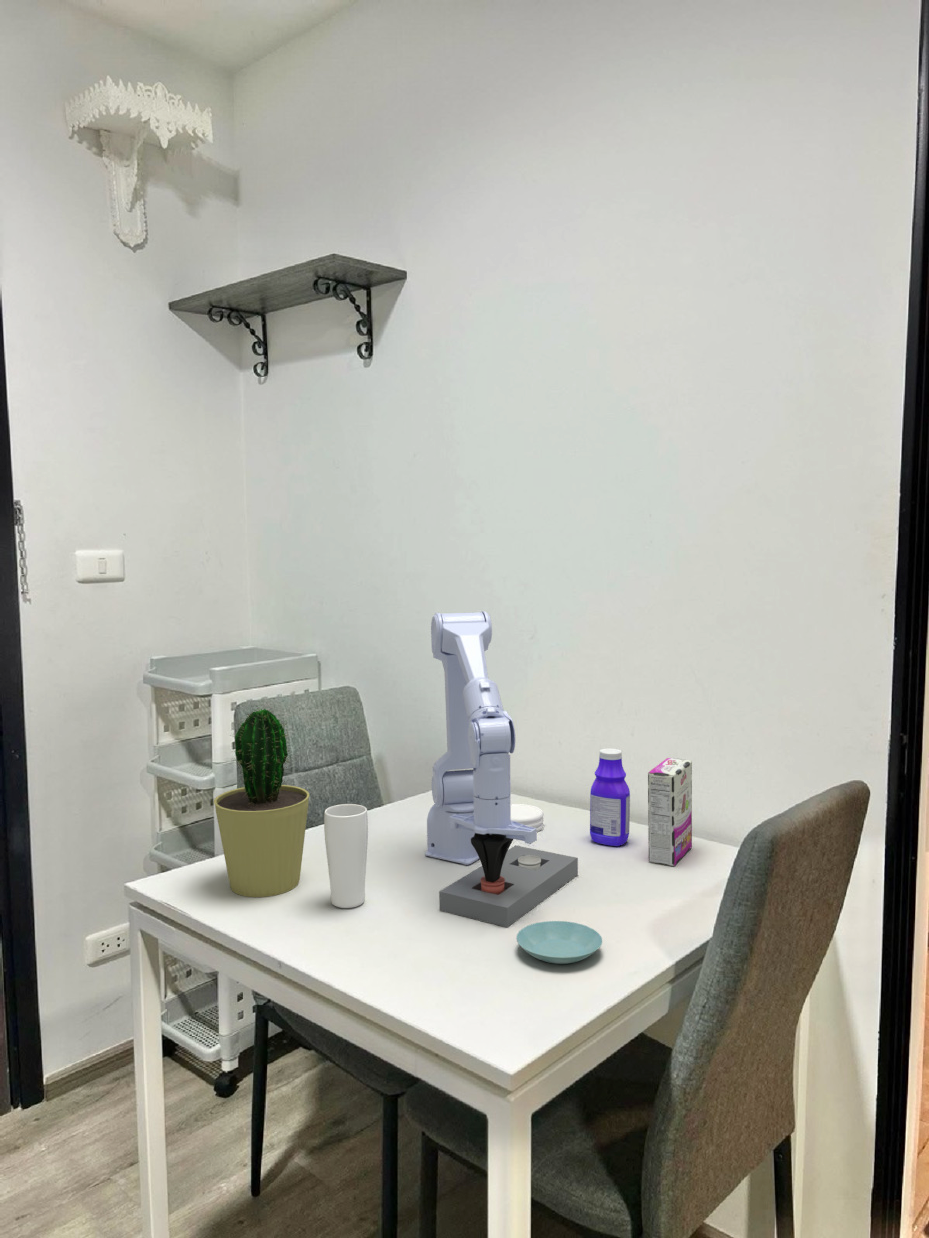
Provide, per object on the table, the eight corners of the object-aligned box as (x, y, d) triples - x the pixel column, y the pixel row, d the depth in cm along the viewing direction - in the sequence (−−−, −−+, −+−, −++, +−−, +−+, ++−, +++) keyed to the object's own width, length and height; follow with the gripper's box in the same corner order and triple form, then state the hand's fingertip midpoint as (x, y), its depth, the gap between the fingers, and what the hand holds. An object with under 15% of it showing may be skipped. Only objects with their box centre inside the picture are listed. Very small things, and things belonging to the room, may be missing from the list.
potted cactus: (261, 861, 164) (256, 694, 161) (330, 876, 156) (326, 702, 153) (196, 890, 150) (189, 710, 147) (268, 909, 143) (262, 719, 140)
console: (507, 927, 135) (507, 907, 135) (439, 910, 142) (439, 891, 141) (577, 874, 155) (577, 857, 155) (515, 861, 162) (515, 845, 162)
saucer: (515, 934, 133) (515, 919, 133) (597, 934, 133) (597, 919, 133) (517, 973, 122) (517, 957, 122) (607, 973, 121) (607, 957, 121)
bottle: (633, 840, 172) (634, 749, 170) (622, 849, 167) (622, 756, 166) (598, 834, 176) (598, 744, 174) (585, 842, 171) (585, 751, 169)
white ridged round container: (517, 816, 188) (517, 800, 188) (553, 827, 181) (553, 810, 180) (482, 827, 181) (481, 810, 181) (518, 840, 174) (518, 821, 174)
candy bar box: (665, 843, 170) (666, 756, 169) (692, 847, 168) (693, 759, 166) (646, 862, 161) (646, 770, 159) (674, 867, 158) (675, 774, 157)
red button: (476, 897, 143) (475, 880, 143) (488, 889, 146) (488, 873, 146) (497, 902, 141) (497, 885, 140) (509, 894, 144) (509, 877, 144)
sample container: (514, 876, 153) (513, 860, 153) (524, 869, 156) (524, 853, 156) (534, 880, 151) (534, 864, 151) (544, 873, 154) (544, 857, 154)
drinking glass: (376, 897, 147) (374, 805, 146) (358, 913, 141) (356, 818, 139) (338, 892, 149) (336, 801, 148) (318, 908, 143) (316, 814, 141)
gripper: (438, 794, 142) (439, 879, 144) (520, 808, 135) (521, 897, 136) (462, 783, 148) (463, 864, 150) (543, 796, 140) (543, 882, 142)
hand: (492, 879), depth 143 cm, fingers closed, pressing on red button
